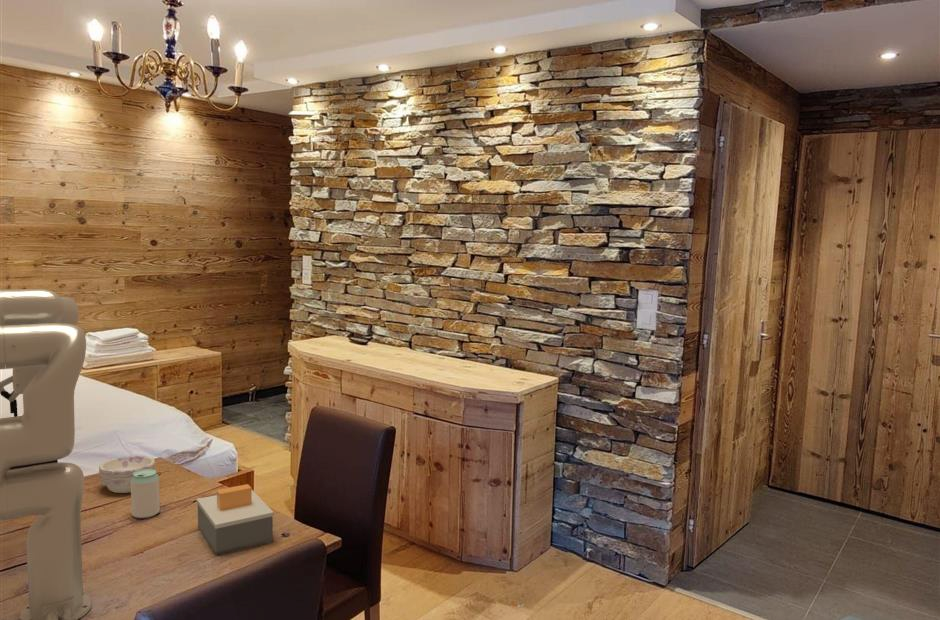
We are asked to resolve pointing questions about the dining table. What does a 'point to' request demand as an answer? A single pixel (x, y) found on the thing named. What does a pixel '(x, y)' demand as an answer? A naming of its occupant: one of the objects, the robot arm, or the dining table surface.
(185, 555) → the dining table surface
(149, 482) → the can
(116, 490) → the paper bowls
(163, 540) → the dining table surface
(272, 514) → the lid
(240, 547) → the parts tub
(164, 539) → the dining table surface
